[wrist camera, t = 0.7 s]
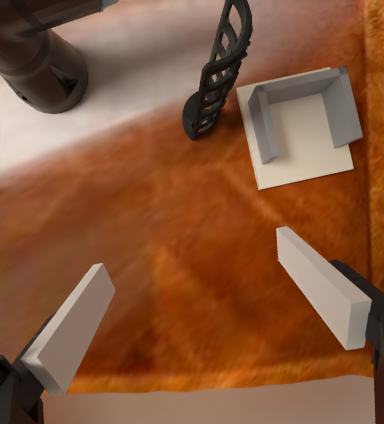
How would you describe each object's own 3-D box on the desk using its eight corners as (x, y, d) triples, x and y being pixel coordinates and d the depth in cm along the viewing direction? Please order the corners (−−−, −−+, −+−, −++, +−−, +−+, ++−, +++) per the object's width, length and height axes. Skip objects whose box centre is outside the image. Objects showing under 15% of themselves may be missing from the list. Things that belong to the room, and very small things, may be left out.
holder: (184, 88, 40) (194, -32, 20) (218, 92, 41) (260, -19, 21) (180, 139, 40) (187, 70, 20) (215, 143, 41) (254, 79, 21)
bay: (236, 90, 41) (243, 69, 35) (326, 70, 41) (349, 45, 35) (258, 189, 40) (270, 185, 34) (349, 169, 40) (377, 161, 34)
